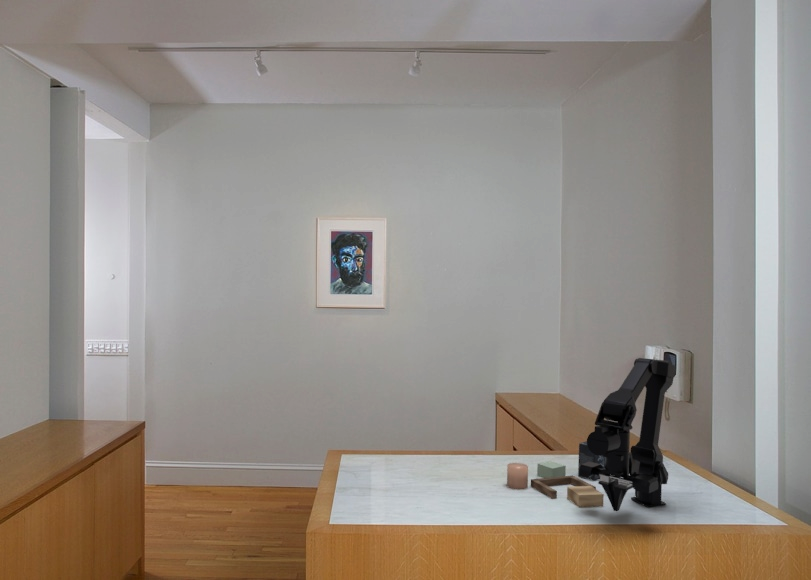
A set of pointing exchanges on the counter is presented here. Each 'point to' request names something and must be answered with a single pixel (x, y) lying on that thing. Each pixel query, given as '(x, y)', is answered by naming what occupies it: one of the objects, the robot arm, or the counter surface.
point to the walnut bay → (544, 484)
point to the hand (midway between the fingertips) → (616, 510)
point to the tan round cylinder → (517, 476)
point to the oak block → (585, 496)
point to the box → (589, 458)
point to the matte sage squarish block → (550, 469)
